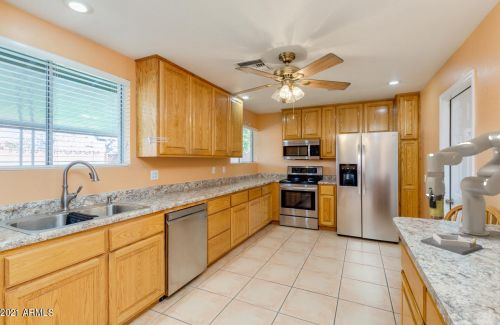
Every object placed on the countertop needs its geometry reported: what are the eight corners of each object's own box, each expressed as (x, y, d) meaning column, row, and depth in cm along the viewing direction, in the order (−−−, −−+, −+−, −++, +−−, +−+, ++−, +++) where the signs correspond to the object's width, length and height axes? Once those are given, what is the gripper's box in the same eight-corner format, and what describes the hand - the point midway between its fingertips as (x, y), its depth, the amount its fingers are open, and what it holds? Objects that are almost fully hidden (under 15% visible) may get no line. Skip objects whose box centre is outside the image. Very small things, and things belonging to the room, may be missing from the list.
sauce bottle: (446, 220, 128) (445, 183, 127) (433, 220, 129) (432, 184, 128) (439, 217, 134) (438, 182, 134) (427, 217, 135) (426, 182, 135)
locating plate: (440, 237, 126) (440, 229, 126) (482, 248, 111) (482, 239, 111) (420, 242, 119) (420, 233, 119) (461, 254, 104) (462, 245, 104)
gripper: (437, 173, 138) (438, 204, 138) (418, 175, 131) (419, 207, 131) (452, 174, 131) (453, 206, 131) (433, 176, 124) (434, 210, 125)
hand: (436, 206), depth 131 cm, fingers closed on sauce bottle, 6 cm apart
